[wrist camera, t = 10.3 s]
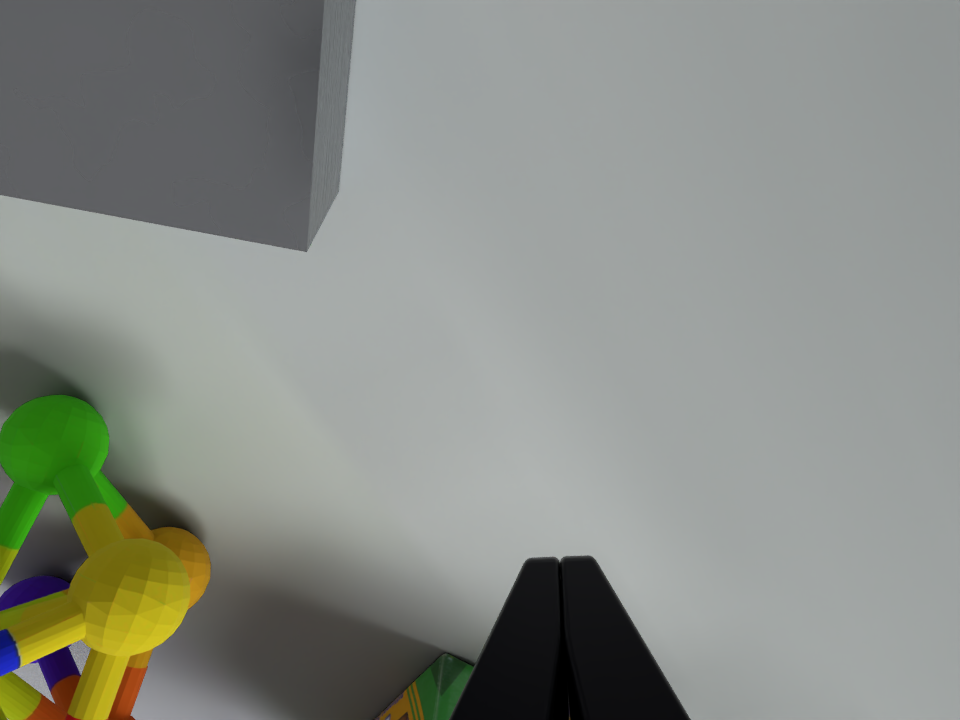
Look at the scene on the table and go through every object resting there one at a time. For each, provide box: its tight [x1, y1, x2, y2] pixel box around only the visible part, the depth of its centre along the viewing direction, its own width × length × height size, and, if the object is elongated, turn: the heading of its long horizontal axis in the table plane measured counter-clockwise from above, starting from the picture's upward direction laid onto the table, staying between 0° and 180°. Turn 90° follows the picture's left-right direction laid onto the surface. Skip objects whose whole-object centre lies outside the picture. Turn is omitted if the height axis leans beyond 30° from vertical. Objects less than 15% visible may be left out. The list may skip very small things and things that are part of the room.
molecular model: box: [0, 395, 211, 720], centre depth 22 cm, size 12×7×12 cm, turn 158°
